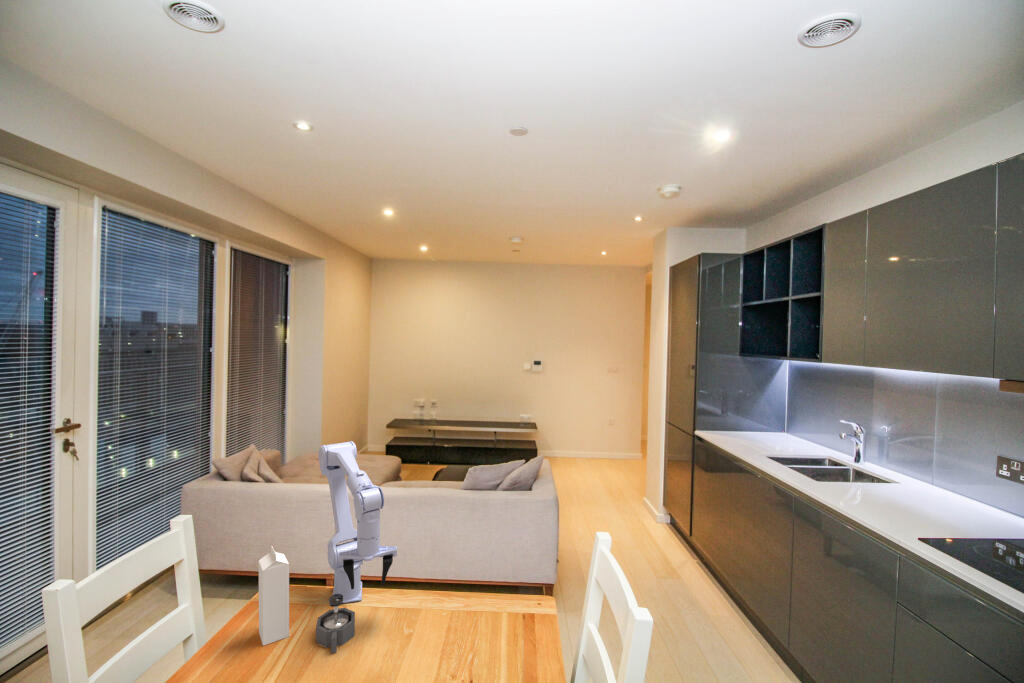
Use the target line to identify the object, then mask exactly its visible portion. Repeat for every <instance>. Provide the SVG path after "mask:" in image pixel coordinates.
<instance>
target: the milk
mask: <svg viewBox="0 0 1024 683" xmlns="http://www.w3.org/2000/svg"><path fill="white" fill-rule="evenodd" d="M270 546H271V548H270V550H271V551H269V552H268V553H267V554H266V555H264V556H263V557H261V558H260V559H259V560H258V634H259V638H260V641H261V644H262V646H263V647H264V646H266V645H269V644H271V643H272V644H273V643H275V642H278V641H280V640H284V639H286V638H288V637H290V563H289V561H288V559H287V557H286V556H285V554H284V553H280V552H278V551H276V550H274V547H273V545H270Z"/></svg>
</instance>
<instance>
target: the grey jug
mask: <svg viewBox="0 0 1024 683" xmlns="http://www.w3.org/2000/svg"><path fill="white" fill-rule="evenodd" d="M338 613H343V614H346V615H347V616H348V623H347V624H346V625H344V626H343V627H342V628H336V629H330V630H328V629H326V628H324V627H323V622H324V620H325V619H326V618H327V617H328V616H330V615H332V614H334V608H333V609H329V610H327V611H325V612H324V613H322V614H321V615H320V616H318V617H317V619H316V627H315V644H318V645H319V646H322V647H324V648H326V649H327V648H328V649H329V648H330V653H331V654H334V653H337V652H338V647H340V646H344V645H345V644H346V643H347V642H349V641H350V640H351V639H353V638H354V637H355V629H356V624H355V623H356V622H355V621H356V612H355V611H353V610H351V609H348V607H347V608H346V607H341V608H339V607H338Z"/></svg>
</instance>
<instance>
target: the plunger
mask: <svg viewBox="0 0 1024 683" xmlns="http://www.w3.org/2000/svg"><path fill="white" fill-rule="evenodd" d="M342 604H344V603H343V595H341V594H335V595H333V594H332V595H331V596H330V597H329V598H328V605H329V606H330V607H333V609H334V614H332V615H330V616H328V617H327V618H326V619H325V620H324V622H323V627H324V628H326V629H328V630H330V629H336V628H342V627H343V626H344V625H346V624H347V623H348V616H347V615H346V614H343V613H338V609H339V606H341V605H342Z"/></svg>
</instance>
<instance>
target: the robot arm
mask: <svg viewBox="0 0 1024 683" xmlns="http://www.w3.org/2000/svg"><path fill="white" fill-rule="evenodd" d="M357 455H358V449H357V445H356V443H355V442H354V441H352V440H350V441H346V442H339V443H331V444H322V445H321V446H320V447H319V449H318V463H319V470H320V474H321V475H323V476H325V477H326V478H327V481H328V482H327V483H328V486H329V493H330V500H331V505H332V506H331V508H332V513H333V521H334V526H335V533H334V534H333V535H332V536H331V538H330V539H329V541H328V543H327V560H328V561H327V562H328V565H329V568H331V569H332V570H334V571H333V572H334V573H333V574H334V575H333V579H334V580H333V583H334V584H333V585H334V586H333V592H332V595H335V594H341V595H343V603H342V604H347V603H355V602H360V601H362V599H363V596H362V595H363V581H361V579H362V578H361V577H362V576H361V574H362V572H361V567H362V565H363V562H371V561H373V559H377V558H378V559H379V558H382V570H381V572H382V573H381V586H385V585H386V579H387V576H388V573H389V571H390V568H391V566H392V565H393V561H394V558H396V557H397V556H398V548H397V545H395V546H393V545H392V546H388V545H381V543H380V541H381V532H380V531H381V509H383V508H384V505H385V497H384V492H383V490H382V488H381V487H380V486H377V484H373V482H372V480H371V479H370V477H369V475H368V474H367V473H366V471H364V470H361V469H360V468H359V465H358V462H357ZM346 477H347V478H346ZM348 490H349V491H350V493H351V495H352V498H353V507H354V513H355V514H354V515H355V519H356V520H357V521H356V525H357V526H356V529H355V528H354V525H353V518H352V512H351V506H350V500H349V494H348V493H349V492H348ZM349 540H350V541H349ZM360 589H361V590H360Z"/></svg>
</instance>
